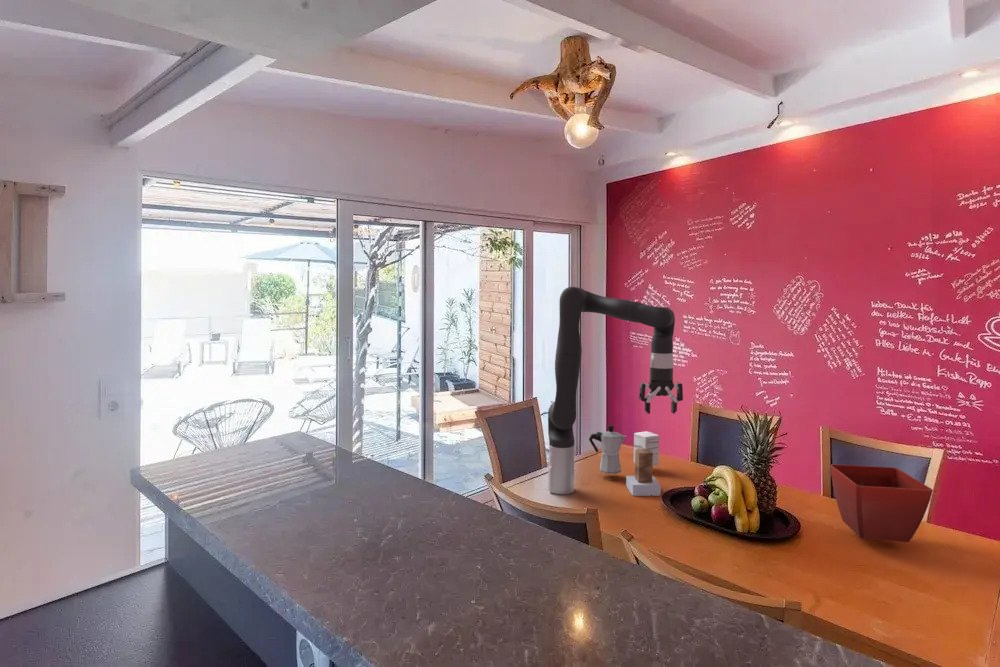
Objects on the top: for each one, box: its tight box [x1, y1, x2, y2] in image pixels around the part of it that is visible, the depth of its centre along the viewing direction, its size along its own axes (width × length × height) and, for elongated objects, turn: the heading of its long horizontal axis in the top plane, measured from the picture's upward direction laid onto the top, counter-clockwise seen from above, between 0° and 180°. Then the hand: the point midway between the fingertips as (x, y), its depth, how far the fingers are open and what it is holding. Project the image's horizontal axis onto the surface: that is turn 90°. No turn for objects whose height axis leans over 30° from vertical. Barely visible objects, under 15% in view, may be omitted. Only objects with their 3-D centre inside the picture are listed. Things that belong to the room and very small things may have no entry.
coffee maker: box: [588, 424, 628, 475], centre depth 216 cm, size 15×9×18 cm, turn 84°
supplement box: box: [633, 430, 660, 467], centre depth 224 cm, size 7×7×13 cm
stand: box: [625, 475, 662, 497], centre depth 202 cm, size 10×10×4 cm
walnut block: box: [634, 449, 654, 483], centre depth 201 cm, size 5×5×11 cm
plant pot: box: [829, 463, 934, 543], centre depth 160 cm, size 19×19×17 cm
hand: (660, 413), depth 187 cm, fingers open, 8 cm apart
